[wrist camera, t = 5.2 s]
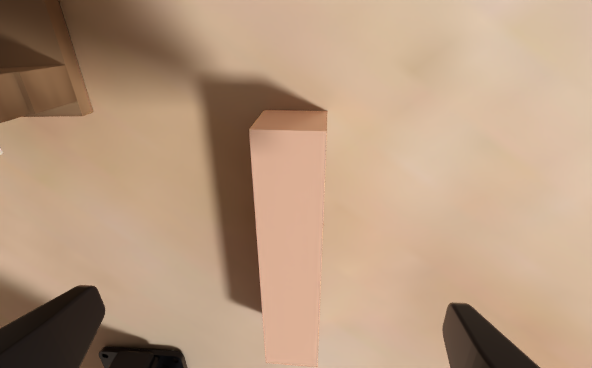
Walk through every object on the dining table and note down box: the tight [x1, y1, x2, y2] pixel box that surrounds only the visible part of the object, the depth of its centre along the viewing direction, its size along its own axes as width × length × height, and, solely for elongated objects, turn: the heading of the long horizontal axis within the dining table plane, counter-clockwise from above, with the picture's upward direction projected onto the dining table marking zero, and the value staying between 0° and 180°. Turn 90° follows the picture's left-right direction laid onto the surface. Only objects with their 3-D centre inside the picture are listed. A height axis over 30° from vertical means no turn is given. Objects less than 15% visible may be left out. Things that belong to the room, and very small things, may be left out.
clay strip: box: [249, 110, 327, 367], centre depth 17 cm, size 14×3×4 cm, turn 0°
